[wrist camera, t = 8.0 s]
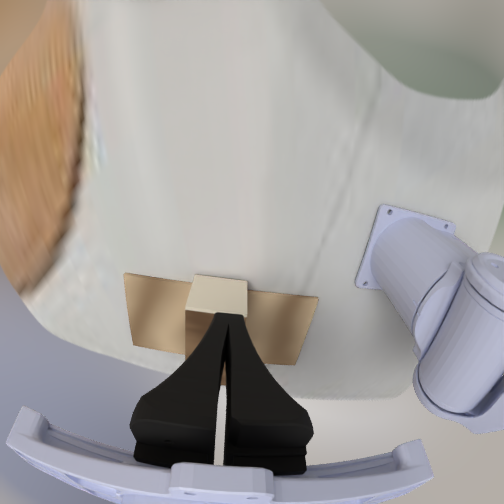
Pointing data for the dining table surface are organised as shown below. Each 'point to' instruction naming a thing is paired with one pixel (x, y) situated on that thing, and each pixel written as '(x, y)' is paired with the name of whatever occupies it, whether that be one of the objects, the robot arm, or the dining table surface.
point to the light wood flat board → (257, 322)
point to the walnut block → (211, 307)
